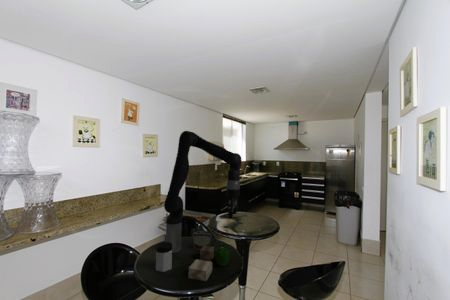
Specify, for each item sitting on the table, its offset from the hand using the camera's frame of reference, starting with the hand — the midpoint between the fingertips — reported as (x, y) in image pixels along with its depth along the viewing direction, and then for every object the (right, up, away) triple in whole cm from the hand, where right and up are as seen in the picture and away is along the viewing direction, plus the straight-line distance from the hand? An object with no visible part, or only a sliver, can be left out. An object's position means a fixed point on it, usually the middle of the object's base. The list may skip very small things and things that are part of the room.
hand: (232, 216), depth 123 cm
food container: (-19, -25, +15) cm, 35 cm away
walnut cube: (-15, -25, +1) cm, 29 cm away
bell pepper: (-6, -25, -5) cm, 26 cm away
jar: (-36, -25, -10) cm, 45 cm away
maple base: (-16, -25, -16) cm, 33 cm away
